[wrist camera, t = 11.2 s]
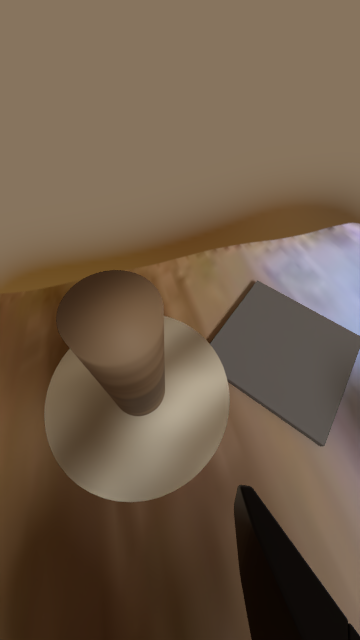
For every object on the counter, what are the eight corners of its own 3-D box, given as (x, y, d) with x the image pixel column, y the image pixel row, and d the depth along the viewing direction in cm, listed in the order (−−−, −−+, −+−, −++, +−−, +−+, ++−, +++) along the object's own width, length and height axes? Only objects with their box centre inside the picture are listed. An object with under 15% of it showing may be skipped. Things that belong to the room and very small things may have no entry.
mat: (359, 340, 27) (363, 338, 26) (320, 446, 21) (324, 445, 20) (255, 283, 30) (257, 280, 30) (198, 360, 24) (198, 358, 24)
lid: (256, 377, 19) (352, 286, 9) (152, 556, 13) (113, 812, 4) (134, 295, 23) (110, 167, 13) (11, 410, 17) (-203, 339, 7)
